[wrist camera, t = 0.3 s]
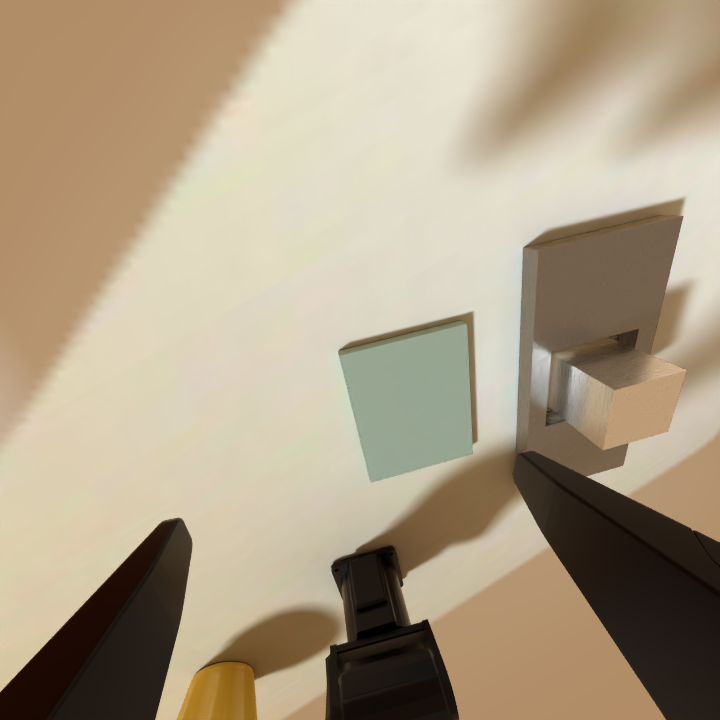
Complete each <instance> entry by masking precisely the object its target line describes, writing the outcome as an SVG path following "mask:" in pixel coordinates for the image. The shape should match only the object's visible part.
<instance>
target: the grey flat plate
mask: <svg viewBox="0 0 720 720" xmlns="http://www.w3.org/2000/svg"><path fill="white" fill-rule="evenodd" d="M682 220H683V216H668V215H659V216H655V217H651V218H647V219H642V220H638V221H634V222H630V223H626V224H621V225H617V226H613V227H609V228H605V229H600V230H596V231H592V232H588V233H584V234H579V235H575V236H571V237H567V238H563V239H558V240H554V241H550V242H546V243H541V244H537V245H533V246H529V247H525V248H523V272H522V300H521V328H520V356H519V384H518V412H517V439H516V454H517V453H518V452H522V451H527V450H533V451H535V452H537V453H539V454H541V455H543V456H545V457H547V458H549V459H551V460H554V461H556V462H558V463H560V464H562V465H564V466H566V467H568V468H570V469H572V470H574V471H576V472H578V473H580V474H582V475H584V476H589V475H592V474H596V473H599V472H603V471H606V470H609V469H613V468H616V467H620V466H623V464H624V460H625V456H626V452H627V448H628V444H629V443H627V444H623V445H620V446H616V447H613V448H610V449H606V450H602V449H600V448H599V447H598V446H597V445H595V444H594V443H593V442H592V441H590V440H589V439H588V438H587V437H585V436H584V435H583V434H582V433H580V432H579V431H578V430H577V429H575V428H574V427H573V426H572V425H570V424H569V423H568V422H567V421H565V420H564V419H563V418H562V417H560V416H559V415H558V414H557V413H555V412H554V411H551V412H547V413H546V411H547V399H548V388H549V376H550V364H551V353H552V351H556V350H560V349H564V348H568V347H571V346H575V345H579V344H583V343H587V342H591V341H594V340H598V339H602V338H606V337H610V336H613V335H617V334H619V336H618V342H621V343H623V344H625V345H628V346H630V347H633V348H635V349H637V350H640V351H642V352H644V353H647V354H649V355H650V352H651V348H652V344H653V340H654V336H655V332H656V328H657V323H658V319H659V315H660V311H661V307H662V303H663V298H664V294H665V290H666V286H667V282H668V278H669V274H670V269H671V265H672V261H673V257H674V253H675V249H676V245H677V240H678V236H679V232H680V228H681V224H682Z"/></svg>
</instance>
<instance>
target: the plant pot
mask: <svg viewBox="0 0 720 720" xmlns="http://www.w3.org/2000/svg"><path fill="white" fill-rule="evenodd" d="M177 720H257V709H256V696H255V683H254V672H253V669H252V668H251V667H250V666H249V665H247V664H245V663H241V662H232V661H230V662H221V663H216V664H213V665H210V666H208V667H206V668H204V669H202V670H200V671H199V672H198V673H197V674H196V675H195V676H194V677H193V679H192V681H191V684H190V686H189V689H188V691H187V694H186V697H185V699H184V702H183V704H182V707H181V710H180V712H179V715H178V717H177Z"/></svg>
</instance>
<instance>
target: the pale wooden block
mask: <svg viewBox="0 0 720 720" xmlns="http://www.w3.org/2000/svg"><path fill="white" fill-rule="evenodd" d="M686 371H687V370H685V369H682V368H680V367H678V366H675V365H673V364H671V363H668V362H666V361H663V360H661V359H659V358H656V357H654V356H652V355H649V354H647V353H644V352H642V351H640V350H637V349H635V348H633V347H630V346H628V345H625V344H623V343H621V342H618V341H616V340H614V339H611V338H609V337H606V338H602V339H598V340H594V341H591V342H587V343H583V344H579V345H575V346H571V347H568V348H564V349H560V350H556V351H552V353H551V364H550V376H549V388H548V399H547V406H548V407H549V408H550V409H552V410H553V411H554V412H555V413H557V414H558V415H559V416H560V417H562V418H563V419H564V420H565V421H567V422H568V423H569V424H570V425H572V426H573V427H574V428H575V429H577V430H578V431H579V432H580V433H582V434H583V435H584V436H585V437H587V438H588V439H589V440H590V441H592V442H593V443H594V444H595V445H597V446H598V447H599V448H600V449H602V450H606V449H610V448H613V447H616V446H620V445H623V444H627V443H630V442H634V441H637V440H641V439H644V438H647V437H651V436H654V435H658V434H661V433H665V432H668V430H669V427H670V424H671V420H672V417H673V414H674V410H675V407H676V404H677V401H678V397H679V394H680V391H681V388H682V384H683V381H684V378H685V374H686Z"/></svg>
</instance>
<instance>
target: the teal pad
mask: <svg viewBox="0 0 720 720" xmlns="http://www.w3.org/2000/svg"><path fill="white" fill-rule="evenodd" d="M338 353H339V357H340V361H341V365H342V369H343V373H344V377H345V381H346V385H347V389H348V393H349V397H350V401H351V405H352V409H353V413H354V417H355V421H356V425H357V429H358V433H359V437H360V441H361V445H362V449H363V453H364V457H365V461H366V465H367V470H368V474H369V477H370V481H371V482H375V481H379V480H382V479H386V478H389V477H393V476H396V475H400V474H403V473H407V472H411V471H414V470H418V469H421V468H425V467H428V466H432V465H435V464H439V463H443V462H446V461H450V460H453V459H457V458H460V457H464V456H467V455H471V454H473V444H472V422H471V399H470V377H469V354H468V332H467V323H465V322H464V321H462V320H460V321H456V322H452V323H448V324H444V325H440V326H436V327H432V328H429V329H425V330H421V331H417V332H413V333H409V334H405V335H401V336H397V337H393V338H389V339H385V340H381V341H377V342H373V343H369V344H365V345H361V346H357V347H353V348H349V349H345V350H341V351H338Z"/></svg>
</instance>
